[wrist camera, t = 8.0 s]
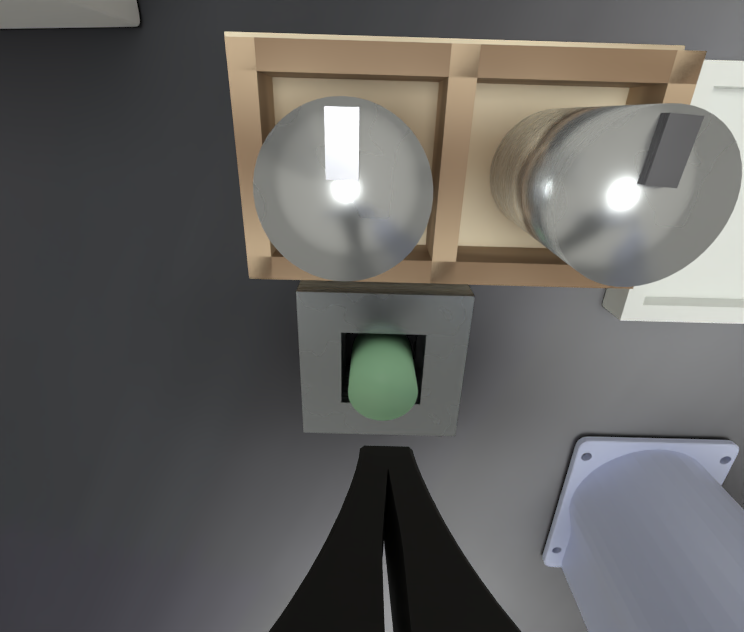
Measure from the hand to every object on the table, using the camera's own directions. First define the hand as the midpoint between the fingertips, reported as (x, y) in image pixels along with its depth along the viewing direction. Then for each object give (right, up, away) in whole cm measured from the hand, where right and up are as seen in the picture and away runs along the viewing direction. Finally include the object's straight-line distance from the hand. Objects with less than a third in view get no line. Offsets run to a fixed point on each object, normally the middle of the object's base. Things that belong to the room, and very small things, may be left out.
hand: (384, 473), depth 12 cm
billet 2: (+6, +9, +3) cm, 12 cm away
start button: (0, +3, +6) cm, 7 cm away
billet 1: (-1, +10, +3) cm, 10 cm away
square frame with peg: (0, +3, +7) cm, 8 cm away
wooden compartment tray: (+2, +10, +4) cm, 11 cm away
